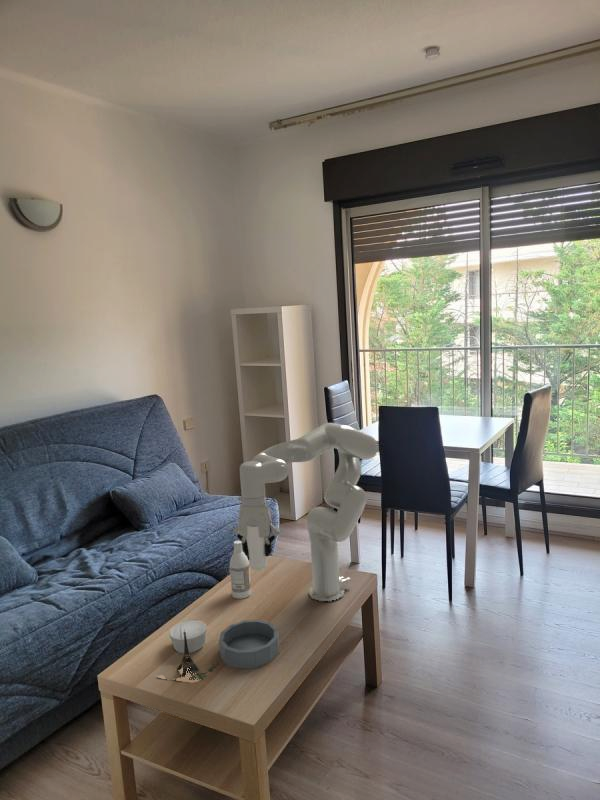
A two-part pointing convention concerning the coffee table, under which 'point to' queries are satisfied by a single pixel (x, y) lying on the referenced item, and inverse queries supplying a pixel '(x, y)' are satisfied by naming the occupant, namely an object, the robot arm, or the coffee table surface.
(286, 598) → the coffee table surface
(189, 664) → the eiffel tower figurine
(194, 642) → the ramekin
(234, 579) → the bath foam
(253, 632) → the bowl
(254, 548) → the drinking glass
